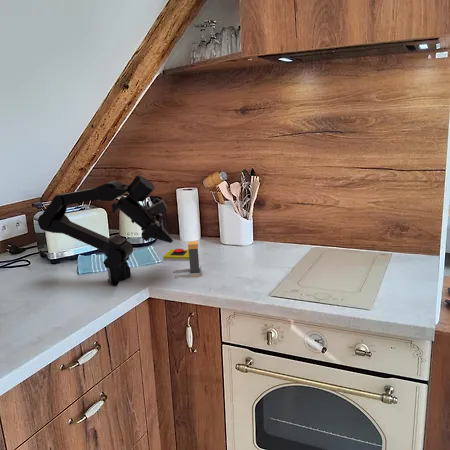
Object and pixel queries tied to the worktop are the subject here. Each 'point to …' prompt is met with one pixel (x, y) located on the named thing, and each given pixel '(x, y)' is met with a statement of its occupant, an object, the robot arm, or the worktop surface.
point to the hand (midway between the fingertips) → (172, 241)
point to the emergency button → (177, 255)
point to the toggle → (193, 257)
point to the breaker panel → (186, 274)
